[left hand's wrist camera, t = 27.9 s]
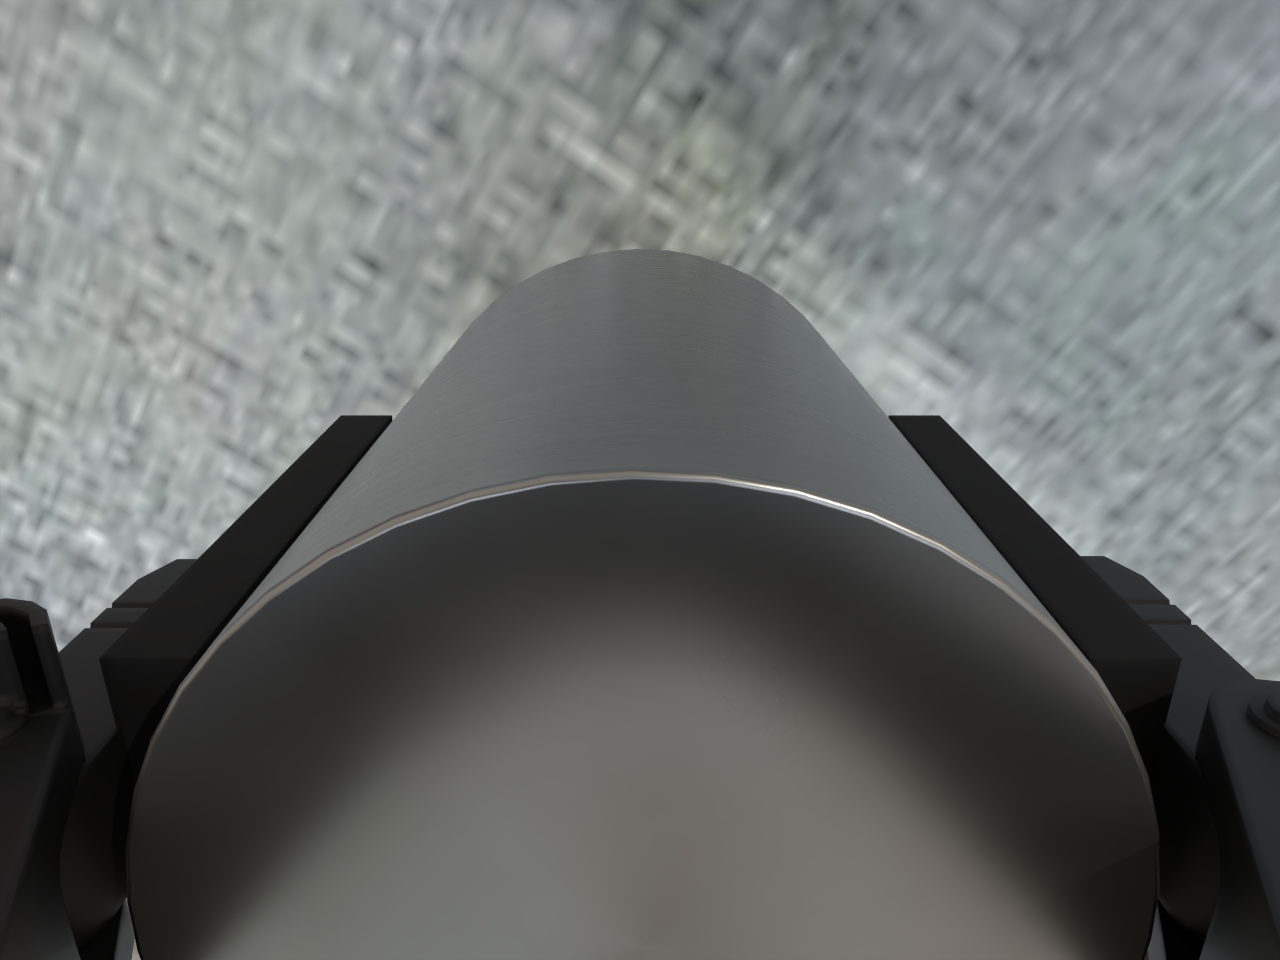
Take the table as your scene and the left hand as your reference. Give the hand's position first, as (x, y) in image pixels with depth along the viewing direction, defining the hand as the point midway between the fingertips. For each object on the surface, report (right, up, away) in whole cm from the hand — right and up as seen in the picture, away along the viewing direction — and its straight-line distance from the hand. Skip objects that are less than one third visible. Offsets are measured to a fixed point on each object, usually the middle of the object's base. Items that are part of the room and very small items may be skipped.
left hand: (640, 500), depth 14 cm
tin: (0, 0, +1) cm, 1 cm away
